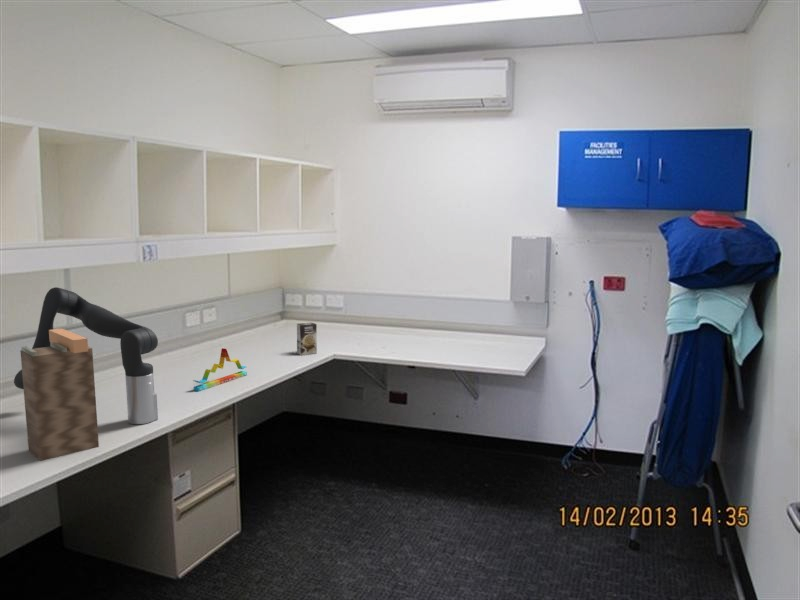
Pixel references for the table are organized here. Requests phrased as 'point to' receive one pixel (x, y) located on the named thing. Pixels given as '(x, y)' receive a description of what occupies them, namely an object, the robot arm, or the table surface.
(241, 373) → the chart
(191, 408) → the table surface
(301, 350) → the coffee box
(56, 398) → the stand
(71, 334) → the tan wooden block
